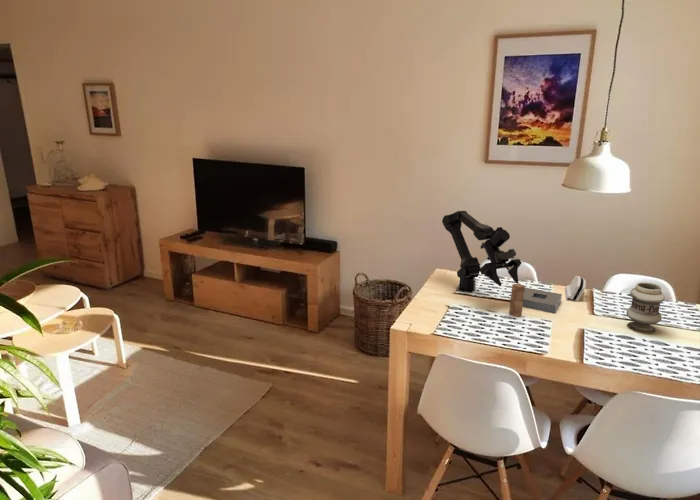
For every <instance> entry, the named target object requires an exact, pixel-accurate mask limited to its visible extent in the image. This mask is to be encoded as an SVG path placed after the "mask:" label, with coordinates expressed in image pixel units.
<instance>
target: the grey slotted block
mask: <svg viewBox="0 0 700 500" xmlns="http://www.w3.org/2000/svg"><path fill="white" fill-rule="evenodd" d="M562 296H563V294H562V293H558V292H557V293H556V292H552V291H545V290H542V289H535V288H531V287H526V286H525V290H524V299H523V307H522V308H525V309H526V308H527V309H532V310H537V311H540V312H541V311H542V312H547V313H551V314H556V312H557V310H558V309H559V306H560V304H561V302H562Z"/></svg>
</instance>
